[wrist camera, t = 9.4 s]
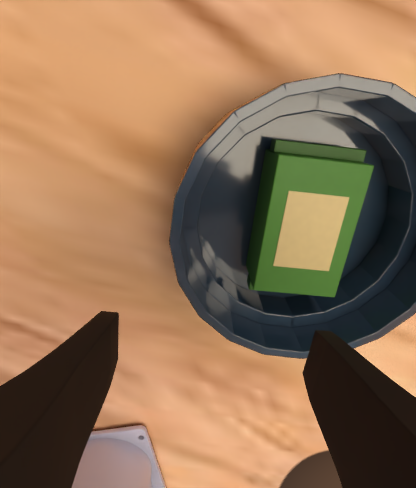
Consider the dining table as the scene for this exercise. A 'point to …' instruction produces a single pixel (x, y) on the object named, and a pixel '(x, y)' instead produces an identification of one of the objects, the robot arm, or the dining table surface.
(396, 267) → the bowl
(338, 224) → the green box
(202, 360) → the dining table surface
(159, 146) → the dining table surface
